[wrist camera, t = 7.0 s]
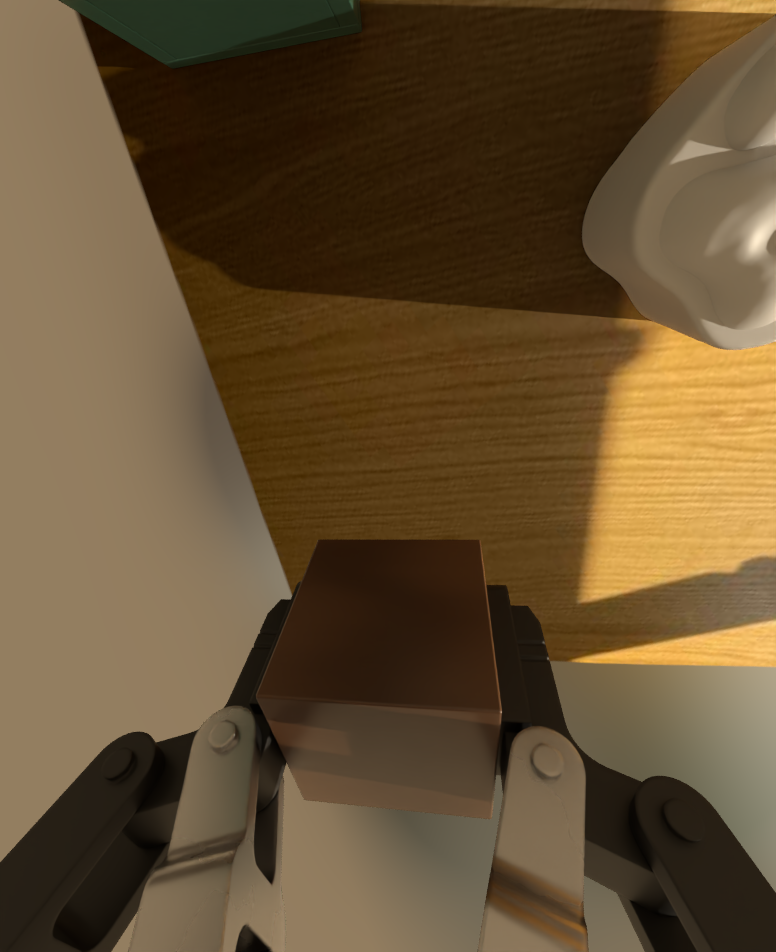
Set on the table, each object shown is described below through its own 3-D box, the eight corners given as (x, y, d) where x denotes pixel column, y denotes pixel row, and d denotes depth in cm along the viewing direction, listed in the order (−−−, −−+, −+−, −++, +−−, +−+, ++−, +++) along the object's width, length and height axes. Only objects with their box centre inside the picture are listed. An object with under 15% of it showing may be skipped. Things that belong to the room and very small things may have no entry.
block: (342, 640, 13) (303, 800, 9) (317, 538, 11) (254, 696, 7) (477, 646, 13) (491, 820, 9) (480, 539, 10) (502, 712, 7)
